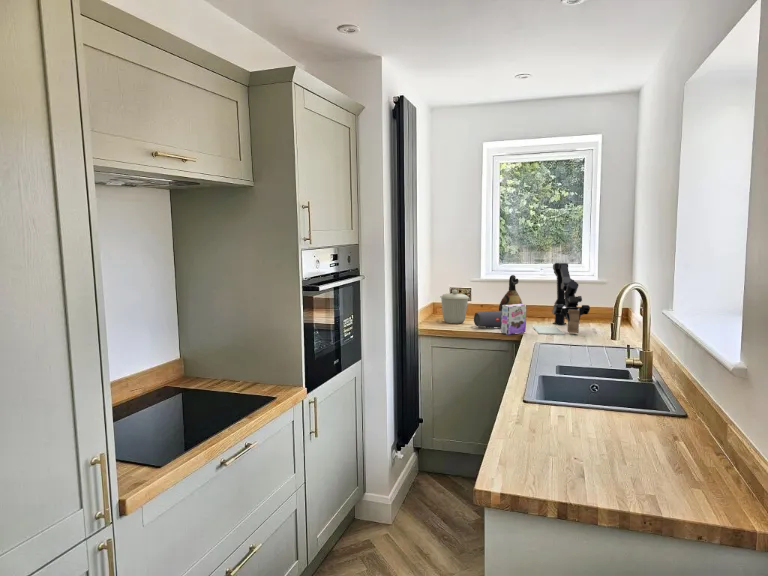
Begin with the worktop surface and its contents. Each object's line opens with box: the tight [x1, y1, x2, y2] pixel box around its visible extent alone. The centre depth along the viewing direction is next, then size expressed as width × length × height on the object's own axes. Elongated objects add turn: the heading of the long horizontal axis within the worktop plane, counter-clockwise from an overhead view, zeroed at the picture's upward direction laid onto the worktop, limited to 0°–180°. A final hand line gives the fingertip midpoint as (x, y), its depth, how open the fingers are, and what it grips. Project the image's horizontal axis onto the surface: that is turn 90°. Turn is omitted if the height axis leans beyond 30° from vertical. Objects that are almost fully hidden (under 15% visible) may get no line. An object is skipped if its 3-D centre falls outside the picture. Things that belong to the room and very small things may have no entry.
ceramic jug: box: [498, 274, 524, 311], centre depth 341 cm, size 17×15×30 cm
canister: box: [439, 289, 470, 325], centre depth 335 cm, size 18×18×21 cm
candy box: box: [500, 304, 527, 335], centre depth 302 cm, size 14×6×16 cm, turn 117°
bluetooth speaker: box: [473, 310, 502, 329], centre depth 319 cm, size 23×9×10 cm, turn 106°
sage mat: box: [531, 325, 565, 336], centre depth 310 cm, size 22×14×1 cm, turn 174°
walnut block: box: [567, 309, 580, 334], centre depth 300 cm, size 4×5×13 cm
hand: (574, 321), depth 299 cm, fingers closed on walnut block, 5 cm apart
